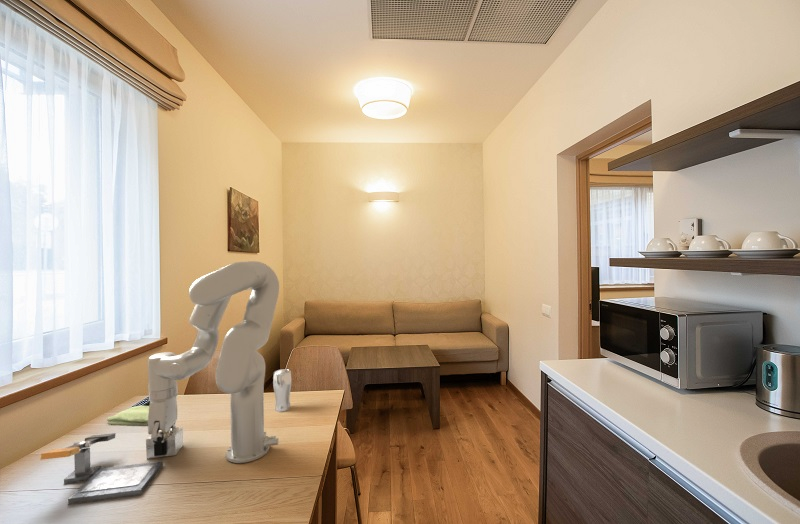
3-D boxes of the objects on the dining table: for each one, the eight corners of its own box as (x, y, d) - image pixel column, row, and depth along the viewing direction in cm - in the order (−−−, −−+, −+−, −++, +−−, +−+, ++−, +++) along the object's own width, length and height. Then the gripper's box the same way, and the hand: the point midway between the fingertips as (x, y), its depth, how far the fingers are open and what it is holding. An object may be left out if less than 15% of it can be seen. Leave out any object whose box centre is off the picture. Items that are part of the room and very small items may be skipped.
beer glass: (288, 412, 140) (288, 374, 140) (270, 412, 140) (270, 374, 140) (294, 405, 147) (293, 369, 147) (277, 405, 147) (276, 369, 147)
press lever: (115, 438, 110) (115, 432, 111) (68, 457, 90) (69, 450, 91) (92, 440, 109) (93, 434, 109) (40, 460, 89) (41, 453, 89)
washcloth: (134, 410, 144) (134, 402, 144) (174, 412, 142) (173, 404, 142) (103, 425, 131) (103, 417, 131) (146, 428, 129) (146, 419, 129)
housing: (183, 445, 116) (182, 420, 116) (175, 455, 110) (174, 429, 110) (155, 448, 114) (154, 423, 114) (146, 458, 109) (145, 432, 108)
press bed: (165, 462, 107) (165, 438, 106) (140, 495, 92) (139, 467, 92) (76, 472, 102) (75, 447, 102) (34, 509, 87) (33, 479, 87)
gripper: (162, 384, 120) (164, 437, 120) (135, 405, 103) (137, 466, 103) (187, 382, 121) (188, 434, 122) (164, 402, 104) (166, 463, 105)
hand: (165, 448), depth 112 cm, fingers closed on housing, 6 cm apart
